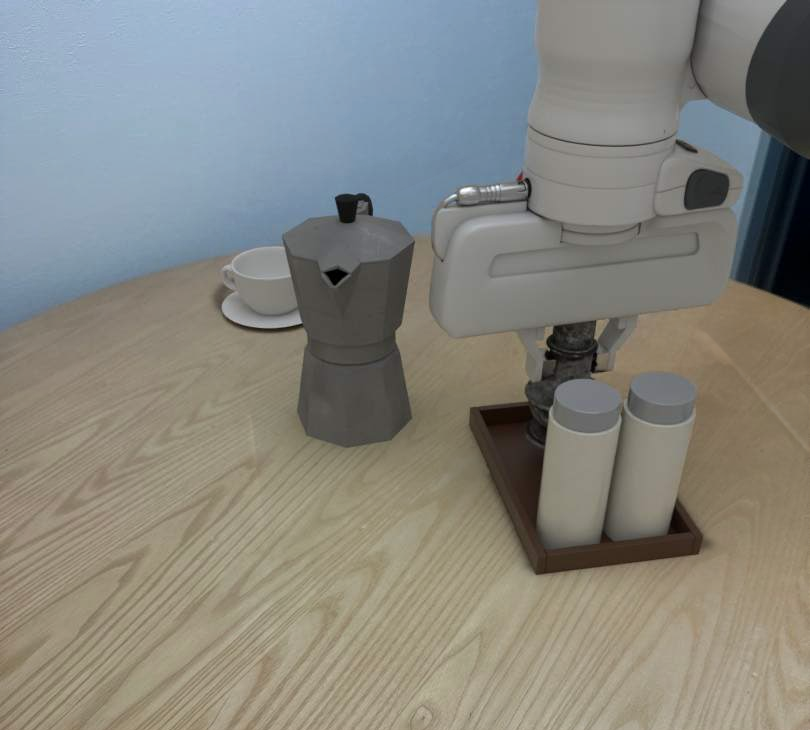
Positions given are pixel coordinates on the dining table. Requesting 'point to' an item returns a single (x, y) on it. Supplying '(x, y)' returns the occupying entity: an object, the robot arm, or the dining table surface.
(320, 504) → the dining table surface
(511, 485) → the tray
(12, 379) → the dining table surface
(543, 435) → the salt shaker
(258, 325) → the teacup
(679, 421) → the white shaker
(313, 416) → the coffeepot
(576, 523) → the white shaker
